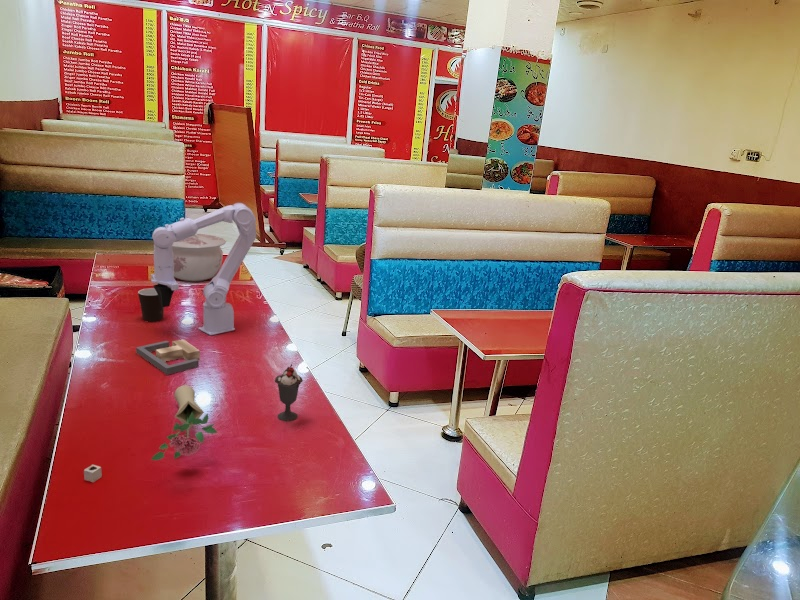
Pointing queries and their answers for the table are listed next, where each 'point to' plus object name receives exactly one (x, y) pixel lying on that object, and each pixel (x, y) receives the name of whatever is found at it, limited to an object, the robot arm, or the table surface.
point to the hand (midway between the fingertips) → (165, 306)
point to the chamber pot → (197, 257)
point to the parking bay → (160, 364)
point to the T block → (178, 351)
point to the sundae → (288, 392)
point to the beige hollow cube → (92, 473)
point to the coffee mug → (150, 305)
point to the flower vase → (186, 424)
